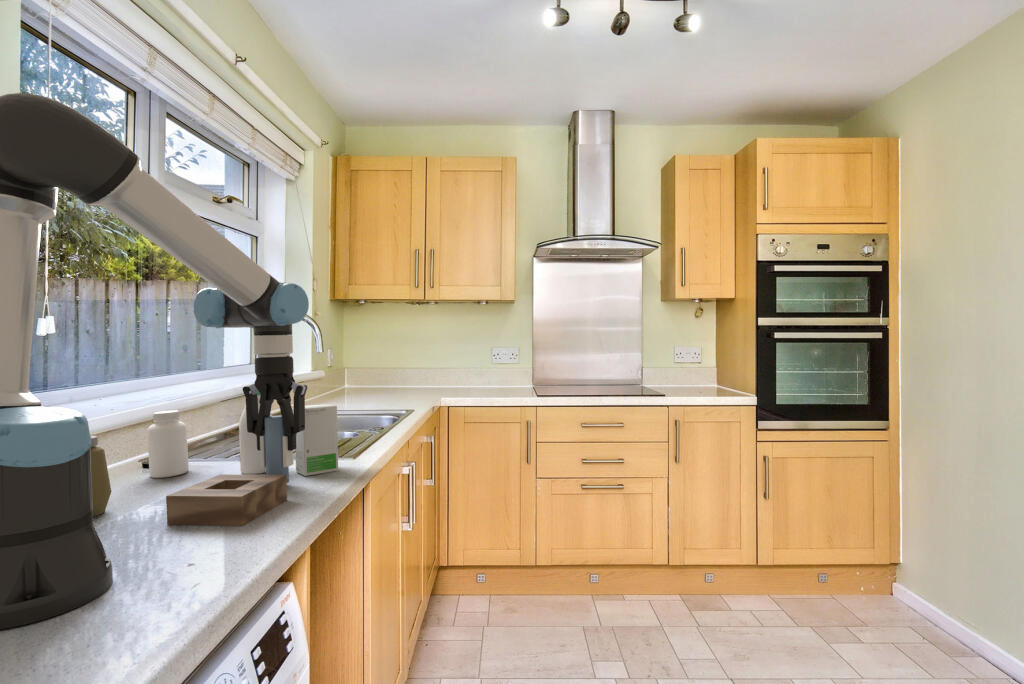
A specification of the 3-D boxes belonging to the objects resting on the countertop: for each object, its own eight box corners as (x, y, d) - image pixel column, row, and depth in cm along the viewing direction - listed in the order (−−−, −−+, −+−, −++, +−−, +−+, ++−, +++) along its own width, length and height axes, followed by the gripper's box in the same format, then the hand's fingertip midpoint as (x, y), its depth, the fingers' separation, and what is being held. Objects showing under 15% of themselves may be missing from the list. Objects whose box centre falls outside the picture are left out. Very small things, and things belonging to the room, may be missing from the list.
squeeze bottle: (81, 524, 95) (77, 422, 95) (44, 522, 97) (39, 421, 96) (123, 509, 103) (119, 414, 103) (88, 507, 104) (84, 414, 104)
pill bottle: (155, 472, 132) (152, 410, 132) (192, 468, 134) (190, 408, 134) (144, 480, 124) (141, 415, 124) (183, 476, 127) (181, 412, 127)
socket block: (242, 525, 91) (241, 496, 91) (167, 524, 93) (166, 495, 93) (287, 500, 105) (286, 474, 105) (220, 499, 107) (219, 474, 107)
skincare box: (304, 477, 123) (301, 408, 122) (294, 472, 128) (292, 406, 127) (340, 470, 128) (337, 404, 128) (329, 465, 133) (327, 402, 133)
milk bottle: (282, 469, 131) (279, 386, 131) (252, 476, 124) (249, 390, 124) (263, 465, 135) (260, 385, 135) (233, 473, 128) (230, 389, 128)
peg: (281, 485, 112) (279, 418, 112) (262, 485, 113) (260, 418, 113) (293, 480, 117) (291, 415, 117) (274, 479, 117) (272, 415, 117)
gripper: (321, 354, 117) (324, 461, 117) (246, 356, 119) (249, 461, 120) (303, 355, 110) (307, 470, 110) (224, 357, 112) (227, 469, 112)
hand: (277, 465), depth 115 cm, fingers closed on peg, 4 cm apart
